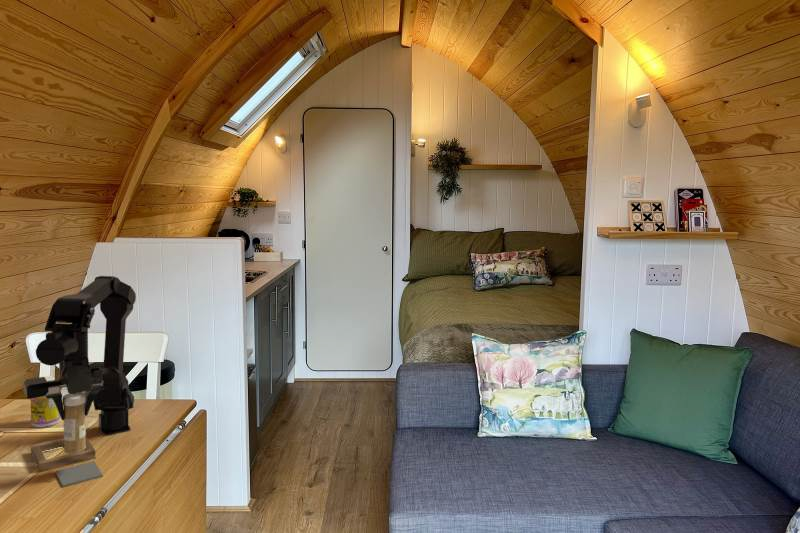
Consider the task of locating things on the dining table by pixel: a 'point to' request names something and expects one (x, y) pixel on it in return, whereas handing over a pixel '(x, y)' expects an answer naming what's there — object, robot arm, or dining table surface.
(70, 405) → the sprinkles bottle
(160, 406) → the dining table surface
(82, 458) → the walnut collar stand
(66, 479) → the grey flat square slab
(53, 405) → the supplement bottle
